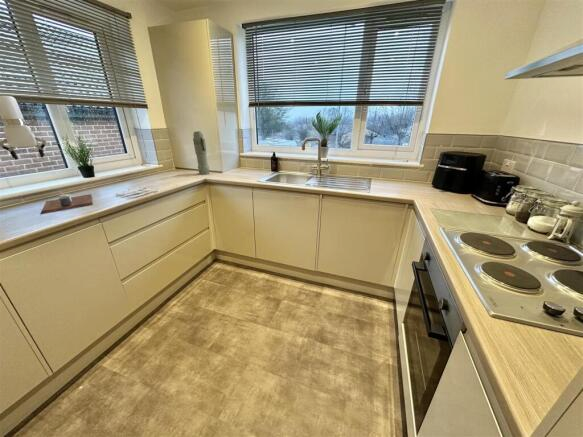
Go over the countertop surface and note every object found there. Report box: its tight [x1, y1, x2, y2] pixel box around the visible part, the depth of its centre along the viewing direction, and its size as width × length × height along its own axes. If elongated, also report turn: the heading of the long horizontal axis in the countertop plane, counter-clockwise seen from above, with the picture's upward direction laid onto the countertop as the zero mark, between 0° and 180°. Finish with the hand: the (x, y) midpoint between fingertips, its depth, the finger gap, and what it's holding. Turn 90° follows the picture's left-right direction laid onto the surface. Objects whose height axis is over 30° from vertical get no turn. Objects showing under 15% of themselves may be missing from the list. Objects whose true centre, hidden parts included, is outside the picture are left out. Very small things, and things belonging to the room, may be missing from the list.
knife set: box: [114, 181, 178, 199], centre depth 161 cm, size 26×35×1 cm
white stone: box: [59, 193, 72, 201], centre depth 135 cm, size 4×4×4 cm
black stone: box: [58, 197, 72, 206], centre depth 130 cm, size 4×4×4 cm
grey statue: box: [192, 130, 210, 176], centre depth 203 cm, size 9×12×35 cm
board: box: [39, 193, 94, 215], centre depth 136 cm, size 22×22×2 cm
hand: (29, 158), depth 126 cm, fingers open, 9 cm apart
